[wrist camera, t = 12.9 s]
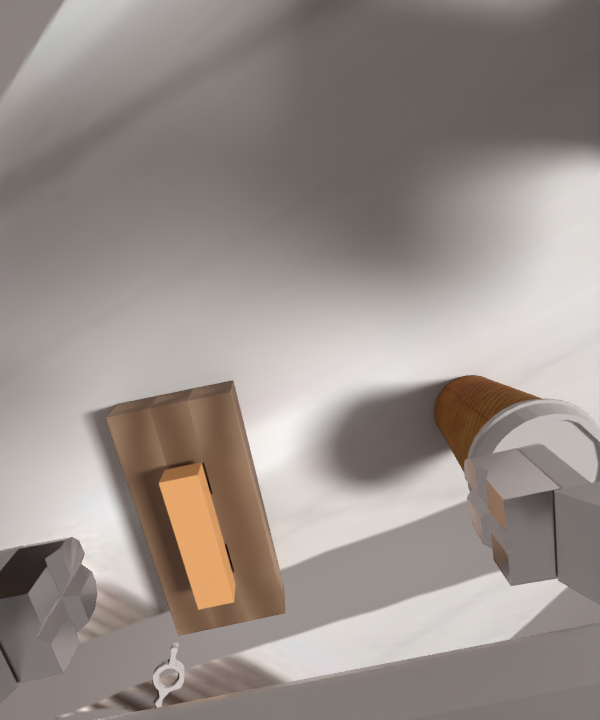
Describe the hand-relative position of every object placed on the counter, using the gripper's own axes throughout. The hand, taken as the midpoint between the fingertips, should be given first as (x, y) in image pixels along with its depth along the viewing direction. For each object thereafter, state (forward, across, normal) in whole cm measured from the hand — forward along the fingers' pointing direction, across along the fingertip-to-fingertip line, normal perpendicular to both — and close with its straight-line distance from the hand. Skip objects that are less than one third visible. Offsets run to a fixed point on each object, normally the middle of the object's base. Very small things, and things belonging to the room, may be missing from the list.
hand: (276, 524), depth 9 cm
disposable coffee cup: (+30, -15, +13) cm, 35 cm away
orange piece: (+28, +10, +16) cm, 34 cm away
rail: (+28, +10, +16) cm, 34 cm away
